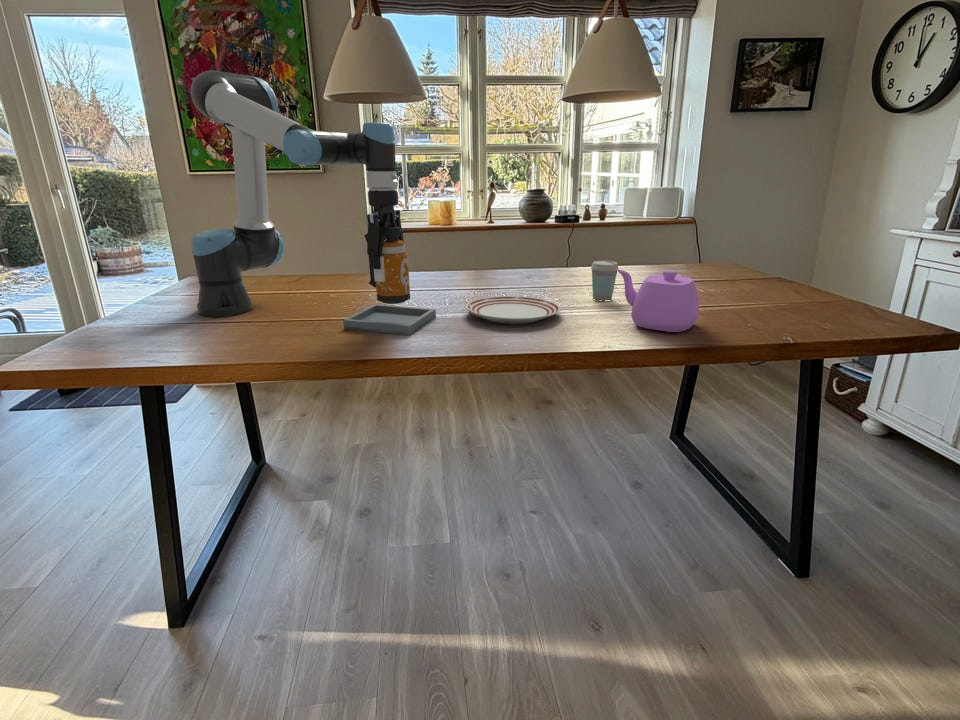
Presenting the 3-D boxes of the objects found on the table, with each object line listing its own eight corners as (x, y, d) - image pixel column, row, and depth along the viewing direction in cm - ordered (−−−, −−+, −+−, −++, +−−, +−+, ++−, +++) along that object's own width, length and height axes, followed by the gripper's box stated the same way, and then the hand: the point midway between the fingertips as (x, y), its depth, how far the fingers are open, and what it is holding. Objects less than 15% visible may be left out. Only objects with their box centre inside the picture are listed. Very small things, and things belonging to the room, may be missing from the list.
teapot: (706, 320, 147) (714, 266, 141) (685, 339, 130) (694, 280, 125) (627, 308, 159) (632, 258, 154) (600, 324, 143) (604, 270, 137)
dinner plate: (490, 300, 169) (490, 290, 168) (571, 310, 158) (572, 299, 157) (448, 322, 146) (448, 310, 145) (540, 335, 135) (541, 323, 134)
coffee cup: (614, 303, 163) (617, 265, 159) (586, 301, 166) (589, 264, 162) (616, 297, 171) (620, 261, 167) (590, 295, 173) (593, 259, 169)
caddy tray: (343, 328, 140) (343, 319, 139) (375, 312, 155) (375, 304, 154) (409, 335, 134) (409, 326, 133) (435, 317, 150) (435, 309, 149)
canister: (404, 305, 137) (399, 228, 130) (364, 304, 139) (357, 227, 132) (414, 297, 145) (410, 224, 138) (377, 296, 148) (371, 223, 140)
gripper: (374, 191, 121) (381, 286, 129) (414, 187, 141) (418, 270, 149) (346, 191, 124) (355, 285, 132) (389, 187, 143) (394, 269, 151)
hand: (388, 277), depth 140 cm, fingers closed on canister, 9 cm apart
